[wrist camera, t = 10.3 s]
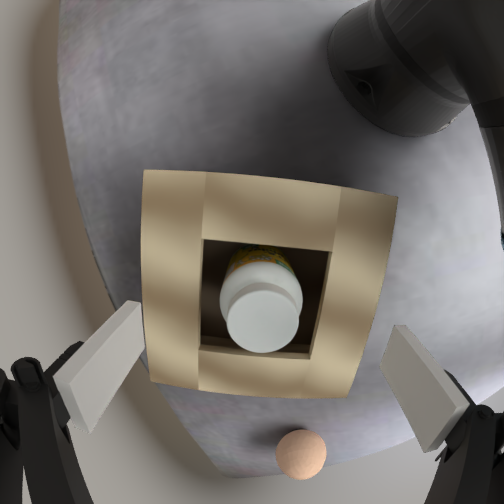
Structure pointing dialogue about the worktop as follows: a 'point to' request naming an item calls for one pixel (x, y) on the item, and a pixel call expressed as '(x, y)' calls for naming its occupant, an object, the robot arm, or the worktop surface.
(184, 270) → the drop box
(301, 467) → the egg
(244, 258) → the supplement bottle
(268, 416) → the worktop surface
